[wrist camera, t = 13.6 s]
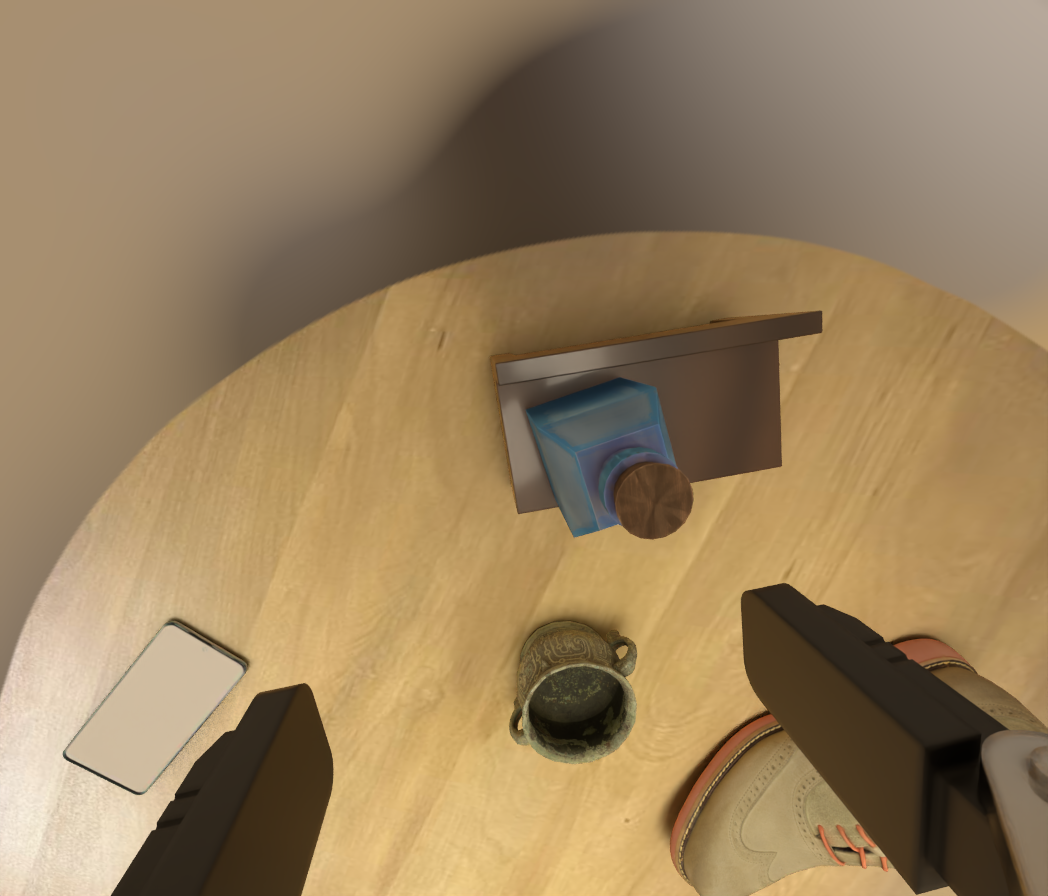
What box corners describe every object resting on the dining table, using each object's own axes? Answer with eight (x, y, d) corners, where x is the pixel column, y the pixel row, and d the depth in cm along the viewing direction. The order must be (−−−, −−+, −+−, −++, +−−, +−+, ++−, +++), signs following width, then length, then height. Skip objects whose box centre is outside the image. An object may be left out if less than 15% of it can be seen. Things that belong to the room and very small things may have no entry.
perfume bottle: (645, 468, 31) (744, 544, 20) (555, 499, 31) (602, 594, 20) (619, 377, 30) (711, 402, 18) (525, 409, 30) (557, 455, 18)
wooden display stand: (511, 486, 37) (524, 539, 27) (489, 356, 35) (494, 363, 25) (735, 446, 38) (823, 484, 29) (729, 317, 36) (822, 310, 26)
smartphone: (58, 756, 38) (167, 619, 36) (64, 751, 38) (172, 615, 37) (141, 798, 39) (249, 668, 38) (145, 792, 40) (252, 663, 38)
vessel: (537, 732, 42) (548, 798, 36) (475, 665, 40) (476, 723, 34) (649, 653, 42) (679, 708, 36) (592, 581, 40) (613, 626, 34)
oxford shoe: (632, 806, 45) (684, 963, 34) (909, 595, 43) (1064, 687, 32) (699, 869, 48) (768, 1035, 37) (963, 673, 46) (1125, 785, 34)
